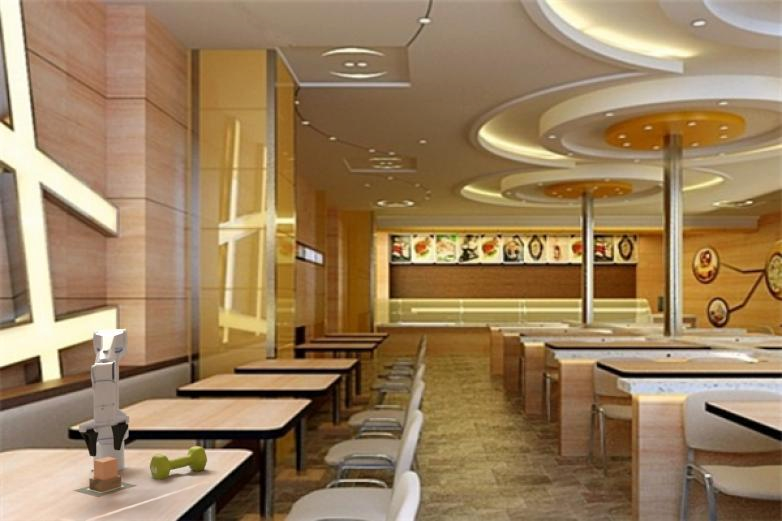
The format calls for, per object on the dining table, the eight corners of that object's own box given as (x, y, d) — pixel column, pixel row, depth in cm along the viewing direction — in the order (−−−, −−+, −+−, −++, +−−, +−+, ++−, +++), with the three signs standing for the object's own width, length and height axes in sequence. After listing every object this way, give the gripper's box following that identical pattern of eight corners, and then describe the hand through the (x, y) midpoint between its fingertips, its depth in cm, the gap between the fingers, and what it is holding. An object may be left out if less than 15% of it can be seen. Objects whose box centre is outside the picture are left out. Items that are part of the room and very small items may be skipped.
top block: (94, 478, 192) (93, 460, 192) (108, 474, 196) (108, 456, 196) (103, 480, 189) (103, 462, 189) (117, 476, 193) (117, 458, 193)
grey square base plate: (73, 492, 191) (73, 490, 191) (111, 481, 201) (111, 479, 201) (98, 499, 184) (98, 496, 184) (136, 487, 194) (136, 485, 194)
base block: (89, 489, 192) (89, 478, 192) (108, 483, 197) (108, 473, 197) (101, 492, 188) (101, 481, 188) (121, 486, 193) (121, 475, 193)
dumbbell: (160, 483, 198) (160, 458, 198) (147, 478, 203) (146, 454, 204) (209, 470, 210) (209, 447, 210) (196, 466, 215) (195, 443, 216)
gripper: (88, 410, 185) (89, 460, 185) (135, 401, 197) (136, 448, 197) (74, 408, 189) (75, 457, 189) (120, 399, 201) (121, 446, 201)
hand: (105, 452), depth 193 cm, fingers open, 7 cm apart
